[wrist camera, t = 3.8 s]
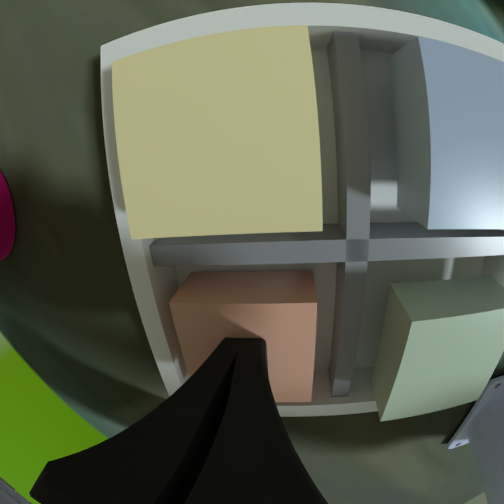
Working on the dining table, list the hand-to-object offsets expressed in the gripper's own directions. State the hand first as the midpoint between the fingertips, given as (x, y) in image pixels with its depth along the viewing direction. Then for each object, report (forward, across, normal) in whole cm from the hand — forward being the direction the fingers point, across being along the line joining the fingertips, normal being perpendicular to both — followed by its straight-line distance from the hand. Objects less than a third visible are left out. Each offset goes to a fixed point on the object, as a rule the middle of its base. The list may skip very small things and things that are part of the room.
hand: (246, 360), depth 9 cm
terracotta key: (+2, 0, 0) cm, 2 cm away
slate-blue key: (+1, -7, -7) cm, 10 cm away
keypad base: (+3, -4, -4) cm, 6 cm away
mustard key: (+1, 0, -7) cm, 7 cm away
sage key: (+1, -7, 0) cm, 7 cm away
